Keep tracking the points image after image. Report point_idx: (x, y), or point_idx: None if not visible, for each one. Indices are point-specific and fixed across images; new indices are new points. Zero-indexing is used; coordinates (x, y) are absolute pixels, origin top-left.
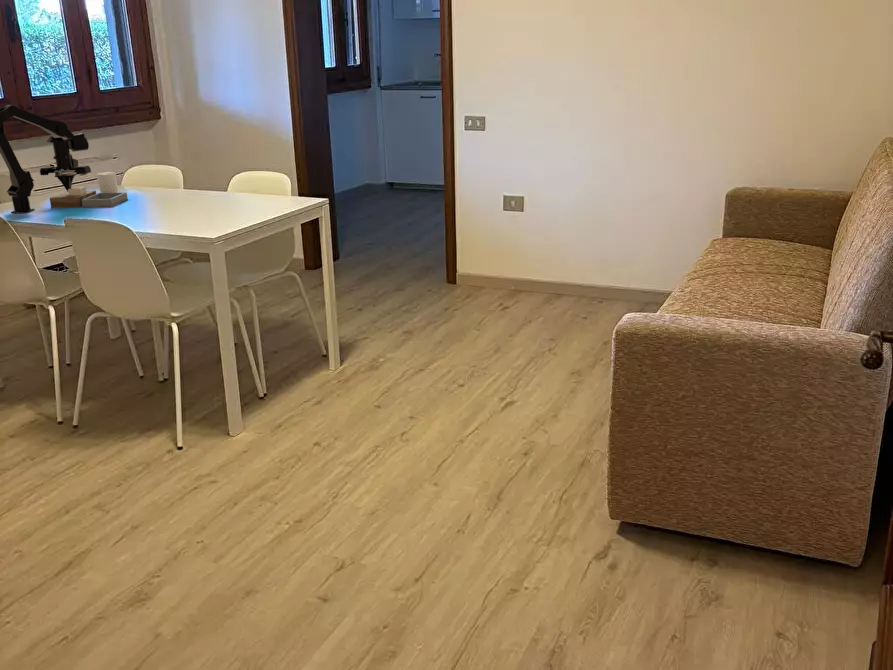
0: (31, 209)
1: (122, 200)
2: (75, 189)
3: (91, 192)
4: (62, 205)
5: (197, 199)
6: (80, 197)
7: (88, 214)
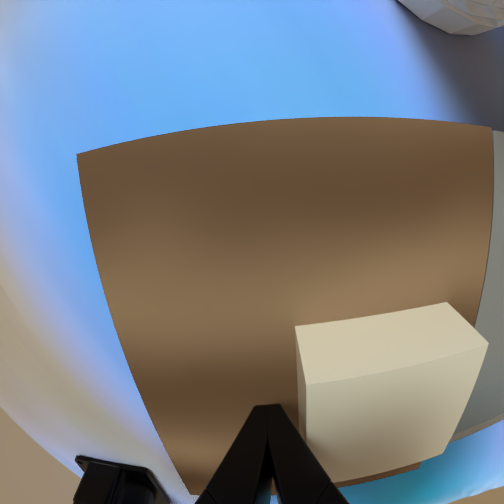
0: (148, 484)
1: None
2: (393, 466)
3: (486, 256)
4: None
5: None
6: None
7: (451, 484)
